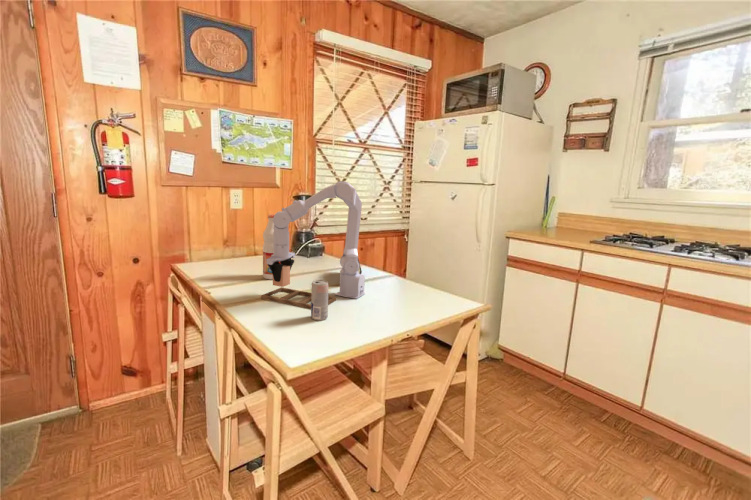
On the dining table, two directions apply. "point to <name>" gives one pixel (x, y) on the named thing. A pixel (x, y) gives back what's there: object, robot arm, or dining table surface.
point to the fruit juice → (268, 247)
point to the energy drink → (319, 300)
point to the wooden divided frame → (293, 297)
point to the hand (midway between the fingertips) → (281, 279)
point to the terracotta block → (283, 277)
